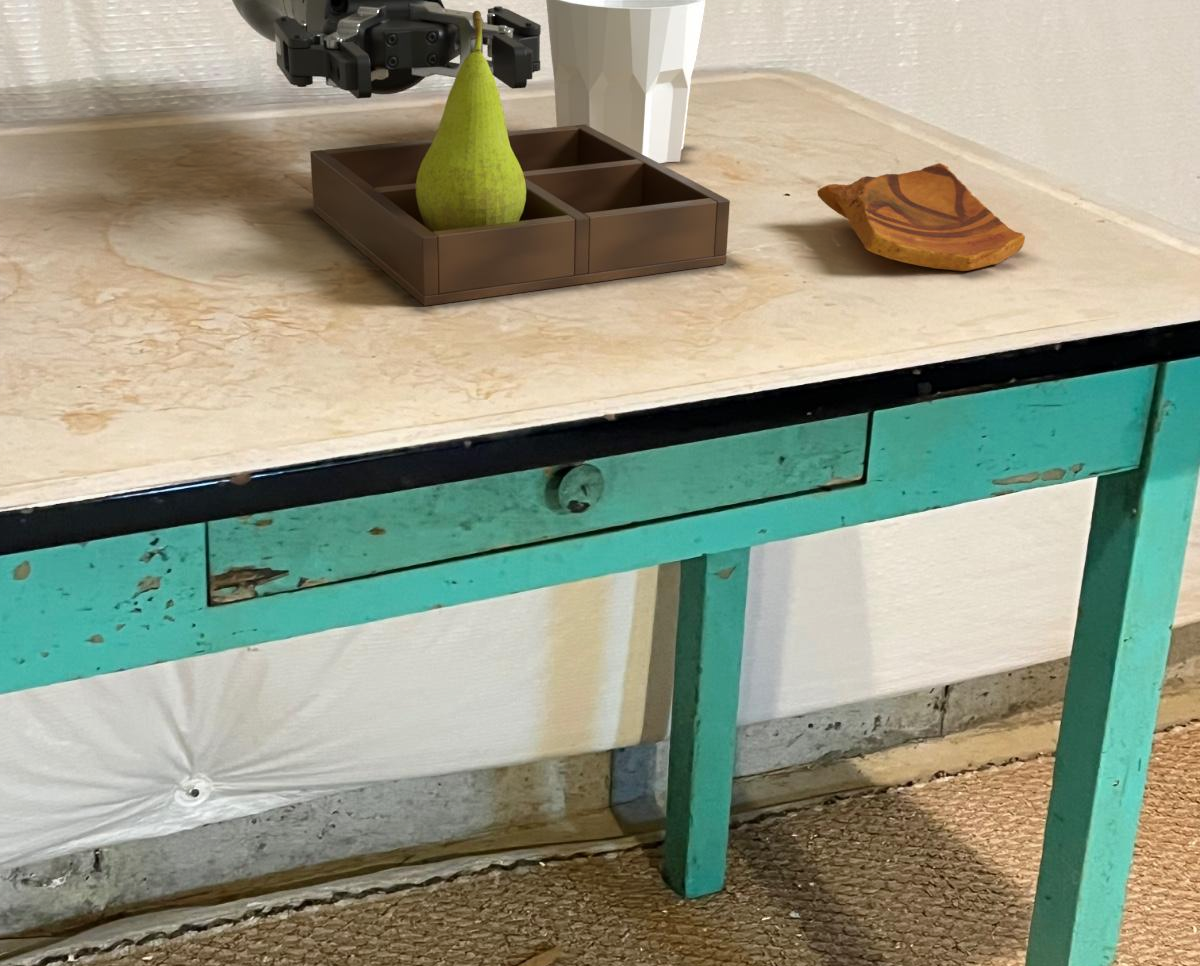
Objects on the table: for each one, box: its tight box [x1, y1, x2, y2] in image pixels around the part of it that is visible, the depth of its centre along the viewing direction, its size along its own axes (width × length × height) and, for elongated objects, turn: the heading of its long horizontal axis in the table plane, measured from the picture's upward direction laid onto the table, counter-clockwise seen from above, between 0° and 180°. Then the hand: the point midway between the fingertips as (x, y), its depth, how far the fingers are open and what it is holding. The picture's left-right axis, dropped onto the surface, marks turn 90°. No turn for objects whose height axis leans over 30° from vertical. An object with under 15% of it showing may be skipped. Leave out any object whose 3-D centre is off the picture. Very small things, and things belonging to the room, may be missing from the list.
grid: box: [309, 124, 731, 307], centre depth 94 cm, size 17×17×4 cm
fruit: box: [416, 10, 526, 232], centre depth 87 cm, size 6×6×12 cm
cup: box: [545, 0, 707, 164], centre depth 109 cm, size 10×10×10 cm
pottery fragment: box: [816, 162, 1026, 272], centre depth 94 cm, size 10×5×10 cm
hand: (444, 73), depth 89 cm, fingers open, 8 cm apart
